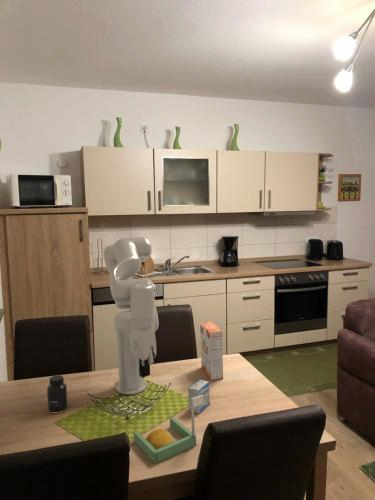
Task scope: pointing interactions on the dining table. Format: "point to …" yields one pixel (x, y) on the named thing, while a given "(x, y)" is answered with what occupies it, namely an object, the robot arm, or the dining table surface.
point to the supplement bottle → (57, 394)
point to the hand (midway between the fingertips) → (144, 375)
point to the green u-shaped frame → (177, 446)
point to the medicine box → (200, 389)
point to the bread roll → (159, 438)
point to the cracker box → (211, 350)
